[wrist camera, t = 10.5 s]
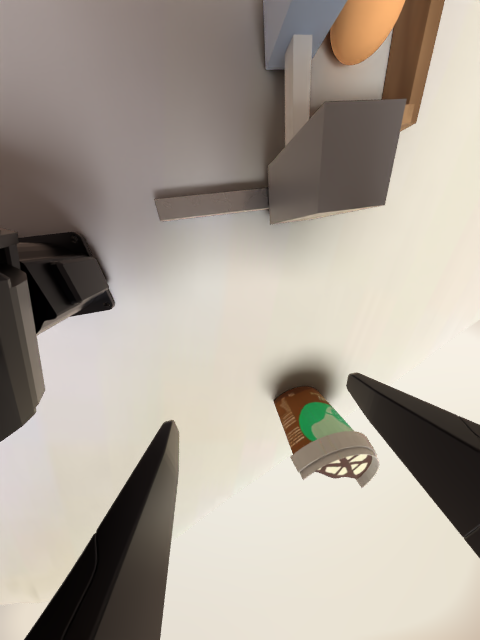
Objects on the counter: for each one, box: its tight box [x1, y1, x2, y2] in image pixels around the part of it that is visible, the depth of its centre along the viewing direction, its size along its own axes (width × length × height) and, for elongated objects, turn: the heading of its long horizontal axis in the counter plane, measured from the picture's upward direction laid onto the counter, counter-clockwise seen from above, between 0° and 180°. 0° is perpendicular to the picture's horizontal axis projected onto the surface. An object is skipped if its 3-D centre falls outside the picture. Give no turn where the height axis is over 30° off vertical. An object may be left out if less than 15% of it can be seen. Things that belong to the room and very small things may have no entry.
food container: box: [274, 386, 380, 488], centre depth 24 cm, size 12×6×10 cm, turn 55°
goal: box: [382, 0, 445, 131], centre depth 11 cm, size 8×11×2 cm
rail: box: [154, 188, 269, 221], centre depth 15 cm, size 15×1×1 cm, turn 97°
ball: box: [330, 0, 405, 65], centre depth 11 cm, size 4×4×4 cm
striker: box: [263, 0, 407, 225], centre depth 10 cm, size 4×12×8 cm, turn 7°
